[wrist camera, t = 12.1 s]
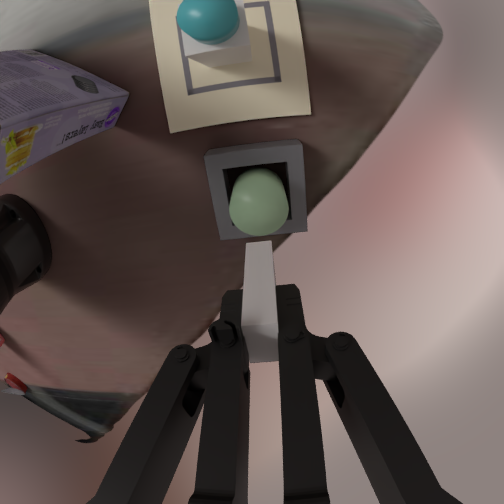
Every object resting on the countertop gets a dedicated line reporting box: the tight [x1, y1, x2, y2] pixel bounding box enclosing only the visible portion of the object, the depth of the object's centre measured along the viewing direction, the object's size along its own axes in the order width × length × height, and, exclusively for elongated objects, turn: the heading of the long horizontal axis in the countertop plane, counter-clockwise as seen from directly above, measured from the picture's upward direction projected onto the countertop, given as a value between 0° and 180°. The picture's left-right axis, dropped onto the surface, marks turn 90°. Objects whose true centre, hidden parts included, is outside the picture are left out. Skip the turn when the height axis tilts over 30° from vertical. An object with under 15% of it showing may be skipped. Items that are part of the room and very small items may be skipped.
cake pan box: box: [0, 50, 130, 184], centre depth 14 cm, size 19×5×18 cm, turn 55°
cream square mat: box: [149, 0, 311, 134], centre depth 21 cm, size 14×16×1 cm
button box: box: [204, 139, 307, 240], centre depth 28 cm, size 9×9×3 cm
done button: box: [229, 167, 289, 236], centre depth 25 cm, size 5×5×4 cm
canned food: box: [2, 373, 27, 395], centre depth 63 cm, size 11×10×10 cm
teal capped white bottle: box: [177, 0, 252, 68], centre depth 16 cm, size 4×4×12 cm
